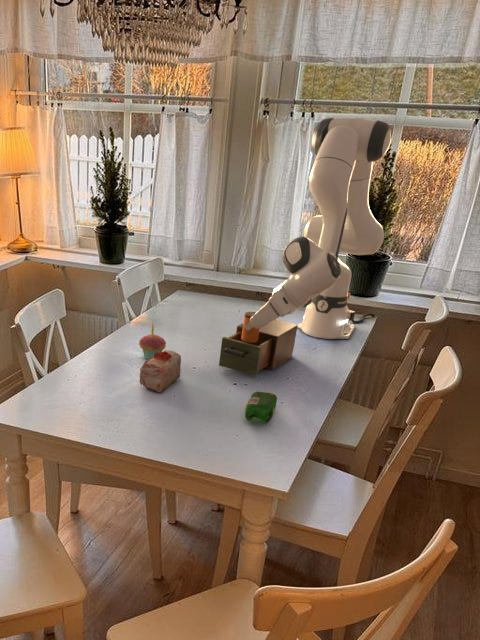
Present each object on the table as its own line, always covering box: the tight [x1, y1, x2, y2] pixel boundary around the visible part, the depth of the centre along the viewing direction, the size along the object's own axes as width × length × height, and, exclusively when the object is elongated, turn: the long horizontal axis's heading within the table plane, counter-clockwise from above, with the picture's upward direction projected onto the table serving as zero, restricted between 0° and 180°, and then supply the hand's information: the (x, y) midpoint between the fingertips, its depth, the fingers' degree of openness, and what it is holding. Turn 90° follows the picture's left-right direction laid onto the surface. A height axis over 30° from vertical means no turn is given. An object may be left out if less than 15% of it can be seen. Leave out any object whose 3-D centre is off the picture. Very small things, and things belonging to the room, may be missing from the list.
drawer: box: [218, 331, 274, 377], centre depth 199 cm, size 18×13×9 cm
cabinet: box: [235, 319, 299, 371], centre depth 208 cm, size 15×14×11 cm
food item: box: [139, 349, 182, 393], centre depth 187 cm, size 14×8×10 cm, turn 151°
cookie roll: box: [241, 311, 260, 342], centre depth 196 cm, size 5×5×8 cm
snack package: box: [244, 390, 278, 424], centre depth 173 cm, size 7×16×5 cm, turn 161°
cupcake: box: [138, 322, 167, 360], centre depth 205 cm, size 9×8×12 cm
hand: (249, 325), depth 196 cm, fingers closed on cookie roll, 5 cm apart
